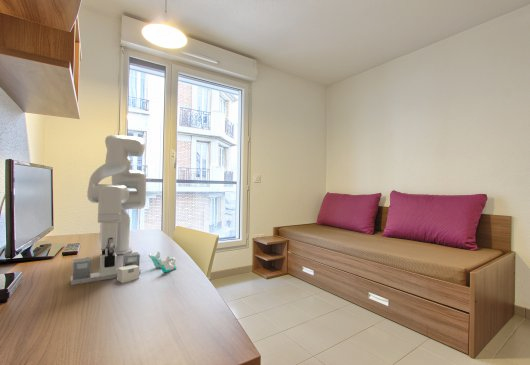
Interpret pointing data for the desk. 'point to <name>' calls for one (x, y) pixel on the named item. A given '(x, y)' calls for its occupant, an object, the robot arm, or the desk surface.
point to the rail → (84, 268)
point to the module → (109, 269)
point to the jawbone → (163, 262)
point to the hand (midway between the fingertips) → (107, 263)
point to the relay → (128, 273)
